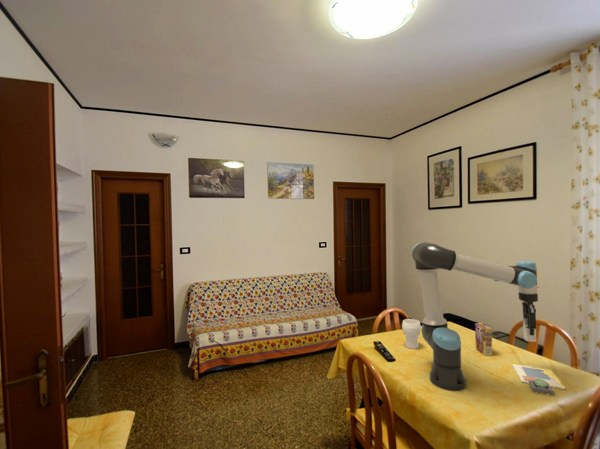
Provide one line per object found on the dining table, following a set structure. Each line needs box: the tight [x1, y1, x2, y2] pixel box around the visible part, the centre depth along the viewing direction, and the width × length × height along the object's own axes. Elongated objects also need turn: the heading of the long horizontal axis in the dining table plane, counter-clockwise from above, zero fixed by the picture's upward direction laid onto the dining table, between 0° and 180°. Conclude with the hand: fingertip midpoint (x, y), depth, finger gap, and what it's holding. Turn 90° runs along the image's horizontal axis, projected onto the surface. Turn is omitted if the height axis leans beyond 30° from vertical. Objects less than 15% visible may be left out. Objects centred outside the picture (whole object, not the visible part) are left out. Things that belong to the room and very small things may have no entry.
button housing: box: [528, 380, 555, 396], centre depth 129 cm, size 7×7×2 cm
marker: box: [522, 318, 537, 343], centre depth 145 cm, size 4×4×10 cm
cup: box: [401, 318, 422, 350], centre depth 177 cm, size 11×11×15 cm
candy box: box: [474, 322, 493, 356], centre depth 167 cm, size 9×4×15 cm, turn 2°
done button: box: [535, 379, 547, 389], centre depth 129 cm, size 4×4×3 cm
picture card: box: [512, 363, 563, 389], centre depth 140 cm, size 16×18×1 cm
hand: (530, 339), depth 145 cm, fingers closed on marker, 4 cm apart
